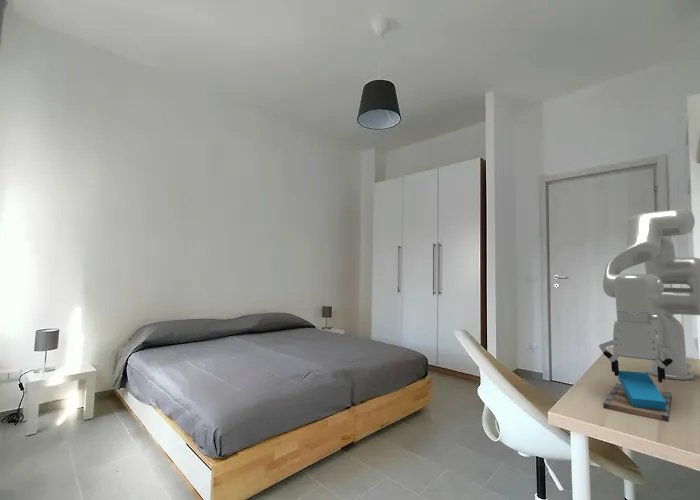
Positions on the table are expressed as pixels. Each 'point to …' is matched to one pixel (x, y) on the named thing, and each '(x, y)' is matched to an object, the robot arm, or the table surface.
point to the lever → (641, 390)
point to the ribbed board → (621, 403)
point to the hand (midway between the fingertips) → (637, 378)
